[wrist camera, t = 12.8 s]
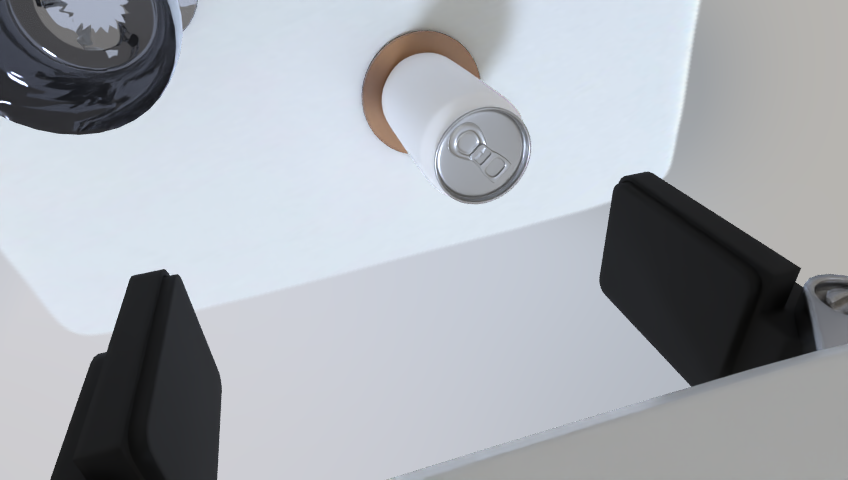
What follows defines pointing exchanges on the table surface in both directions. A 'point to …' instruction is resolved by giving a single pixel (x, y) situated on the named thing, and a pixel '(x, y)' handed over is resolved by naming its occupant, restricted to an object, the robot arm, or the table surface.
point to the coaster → (387, 63)
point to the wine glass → (87, 60)
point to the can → (456, 128)
